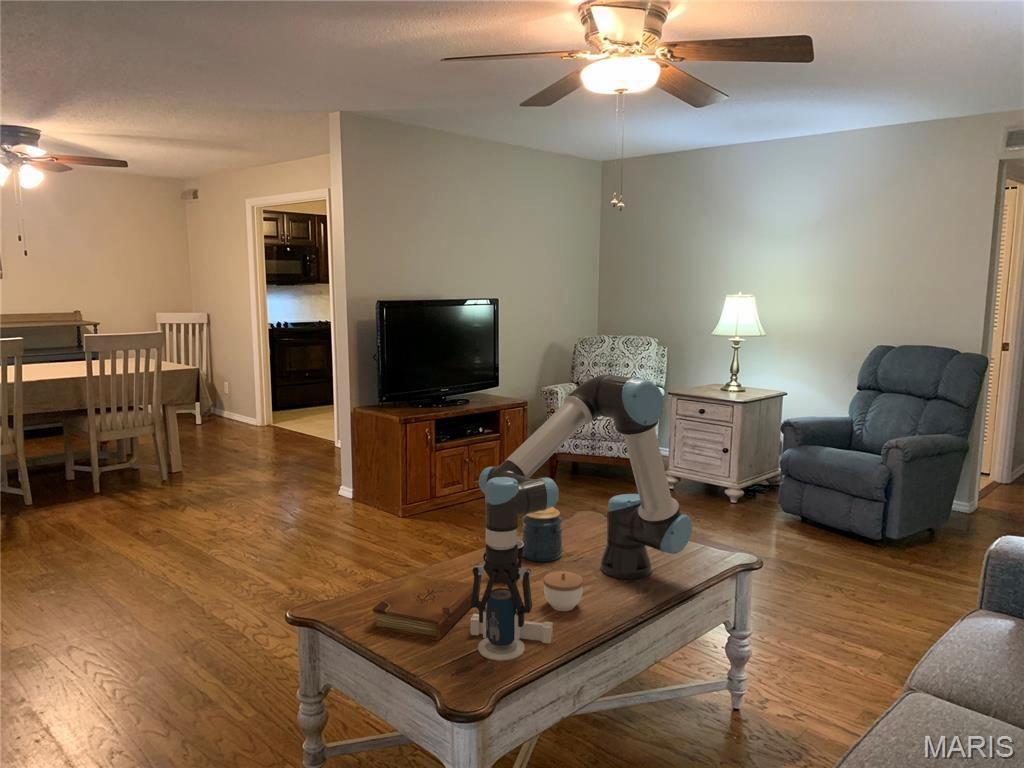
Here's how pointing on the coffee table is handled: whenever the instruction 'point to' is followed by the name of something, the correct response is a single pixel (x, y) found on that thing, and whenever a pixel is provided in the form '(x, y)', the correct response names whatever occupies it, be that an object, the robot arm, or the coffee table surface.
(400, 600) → the diary
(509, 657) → the coaster
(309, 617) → the coffee table surface
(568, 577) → the lidded jar
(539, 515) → the canister
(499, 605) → the soda can
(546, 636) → the divider
